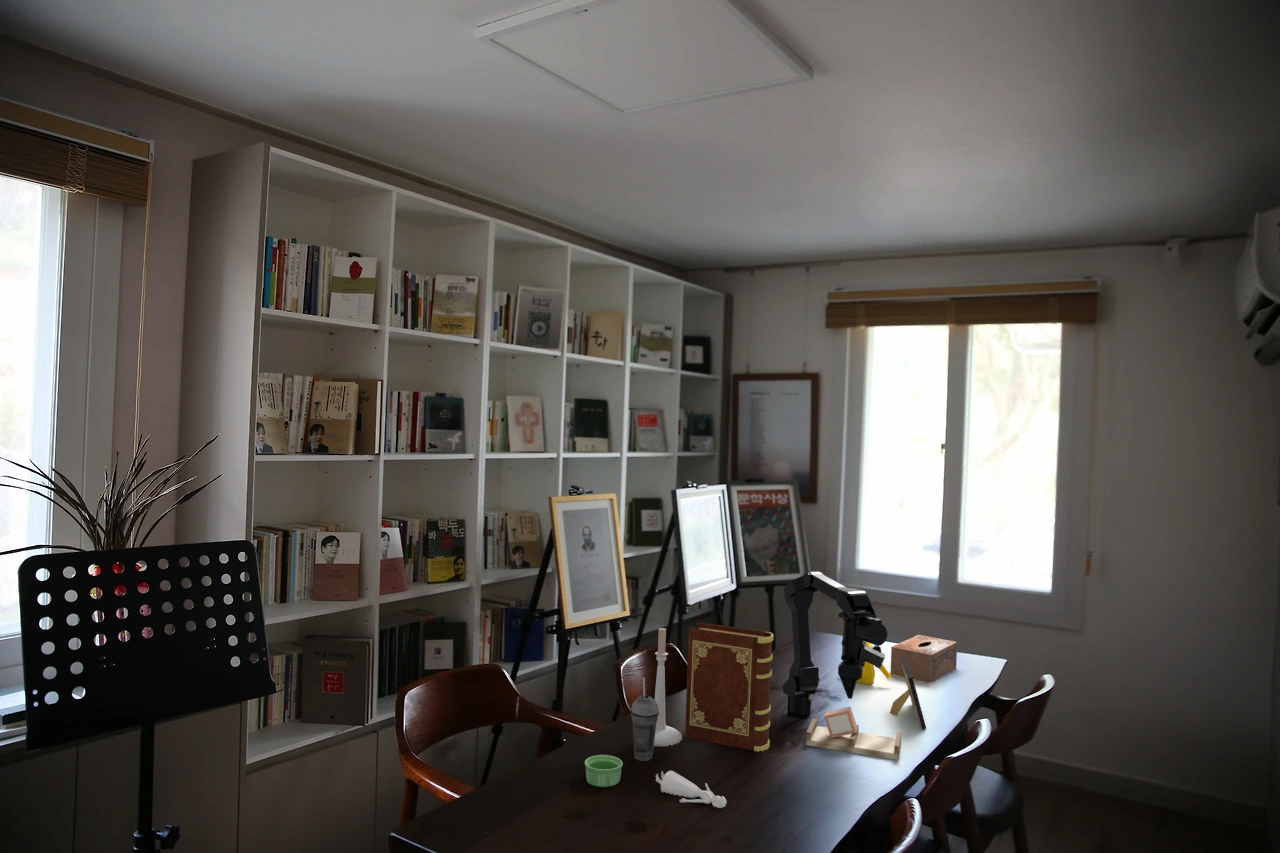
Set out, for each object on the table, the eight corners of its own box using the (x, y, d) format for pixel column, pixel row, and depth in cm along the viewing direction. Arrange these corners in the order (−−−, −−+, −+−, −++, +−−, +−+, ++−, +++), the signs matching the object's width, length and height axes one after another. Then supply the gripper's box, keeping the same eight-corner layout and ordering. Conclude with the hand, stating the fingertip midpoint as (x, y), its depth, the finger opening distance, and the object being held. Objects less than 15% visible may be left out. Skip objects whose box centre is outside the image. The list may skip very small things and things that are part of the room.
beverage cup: (637, 764, 209) (639, 684, 209) (624, 754, 215) (626, 676, 215) (662, 760, 212) (665, 681, 212) (649, 750, 218) (651, 673, 219)
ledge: (806, 745, 226) (806, 732, 226) (812, 730, 238) (813, 718, 238) (898, 760, 218) (899, 746, 218) (901, 744, 229) (901, 731, 229)
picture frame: (926, 729, 241) (921, 677, 242) (894, 729, 243) (889, 678, 244) (916, 704, 264) (912, 656, 265) (887, 705, 266) (883, 657, 266)
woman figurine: (673, 760, 201) (739, 785, 191) (671, 778, 202) (737, 804, 191) (645, 775, 192) (713, 803, 182) (643, 794, 192) (711, 823, 182)
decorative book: (772, 743, 226) (776, 632, 226) (764, 753, 219) (768, 638, 219) (695, 728, 236) (698, 621, 236) (684, 737, 229) (688, 627, 229)
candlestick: (666, 750, 219) (671, 635, 219) (625, 739, 226) (629, 627, 226) (690, 735, 230) (694, 626, 230) (650, 725, 237) (654, 619, 237)
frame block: (830, 738, 228) (823, 716, 229) (832, 733, 232) (825, 711, 232) (856, 733, 226) (848, 711, 226) (857, 728, 229) (850, 706, 230)
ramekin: (585, 771, 204) (586, 753, 204) (622, 773, 203) (623, 755, 203) (582, 787, 195) (582, 768, 195) (620, 789, 194) (621, 770, 194)
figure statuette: (892, 685, 284) (895, 620, 285) (885, 690, 278) (888, 624, 278) (842, 675, 294) (844, 612, 294) (834, 680, 288) (836, 616, 288)
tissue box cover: (930, 683, 288) (931, 654, 288) (890, 675, 298) (891, 646, 298) (956, 669, 308) (957, 641, 308) (917, 661, 318) (918, 634, 318)
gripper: (882, 648, 219) (880, 708, 219) (884, 632, 236) (883, 688, 236) (838, 643, 222) (836, 702, 222) (844, 628, 240) (842, 682, 240)
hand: (851, 693), depth 230 cm, fingers open, 9 cm apart
